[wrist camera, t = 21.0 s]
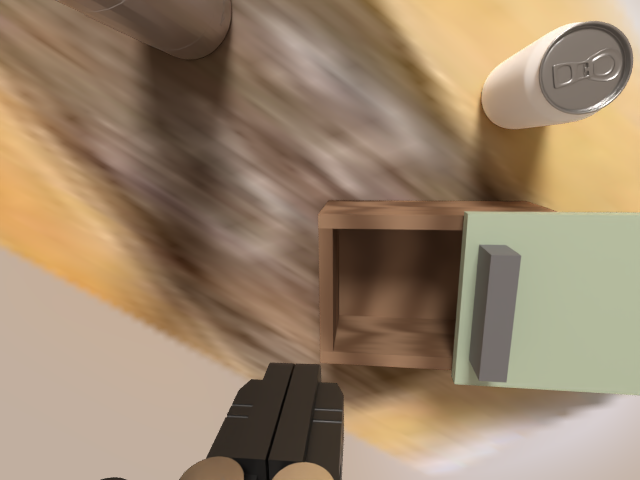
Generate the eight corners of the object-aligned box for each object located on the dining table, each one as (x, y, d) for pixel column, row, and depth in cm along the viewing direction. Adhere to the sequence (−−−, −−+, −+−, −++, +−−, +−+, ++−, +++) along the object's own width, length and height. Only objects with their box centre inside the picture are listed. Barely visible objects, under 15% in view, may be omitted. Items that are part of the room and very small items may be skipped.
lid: (451, 376, 34) (463, 407, 30) (464, 211, 30) (479, 221, 26) (702, 390, 31) (751, 426, 27) (747, 213, 28) (812, 224, 24)
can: (554, 121, 36) (642, 108, 25) (484, 136, 37) (536, 131, 26) (548, 49, 35) (639, 0, 23) (475, 67, 36) (527, 28, 24)
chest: (329, 320, 44) (320, 362, 35) (328, 200, 41) (318, 214, 32) (511, 328, 41) (548, 375, 33) (526, 201, 38) (572, 216, 30)
